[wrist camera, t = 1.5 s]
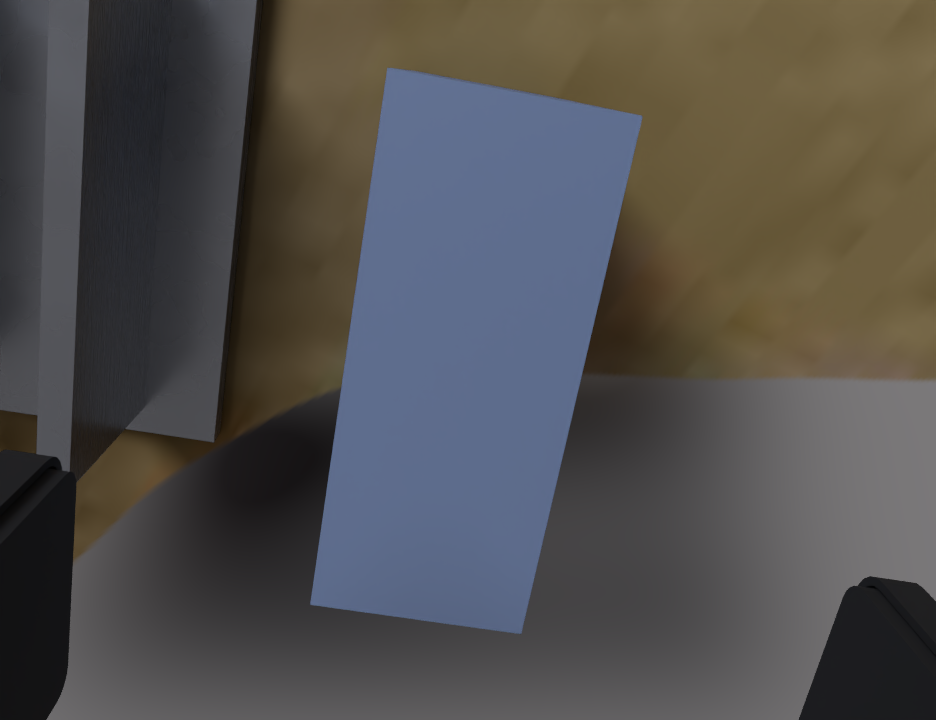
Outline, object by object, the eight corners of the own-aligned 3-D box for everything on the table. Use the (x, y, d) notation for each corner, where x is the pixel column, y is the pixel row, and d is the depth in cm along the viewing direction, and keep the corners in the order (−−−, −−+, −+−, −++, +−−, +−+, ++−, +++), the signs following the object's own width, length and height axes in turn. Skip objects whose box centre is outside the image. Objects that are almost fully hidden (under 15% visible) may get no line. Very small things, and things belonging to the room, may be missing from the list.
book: (552, 97, 31) (642, 115, 17) (490, 404, 35) (521, 634, 20) (414, 71, 31) (387, 67, 16) (366, 384, 34) (309, 604, 20)
